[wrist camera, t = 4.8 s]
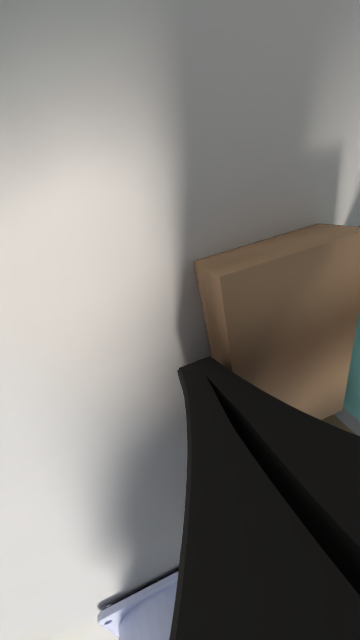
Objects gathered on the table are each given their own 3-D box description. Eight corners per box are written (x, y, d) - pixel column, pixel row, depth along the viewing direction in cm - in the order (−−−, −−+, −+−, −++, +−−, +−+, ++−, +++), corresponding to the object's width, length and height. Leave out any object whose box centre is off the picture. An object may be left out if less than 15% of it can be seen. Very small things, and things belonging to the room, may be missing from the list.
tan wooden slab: (302, 376, 13) (342, 410, 11) (218, 410, 12) (244, 454, 10) (309, 222, 9) (372, 227, 7) (189, 258, 8) (219, 276, 6)
